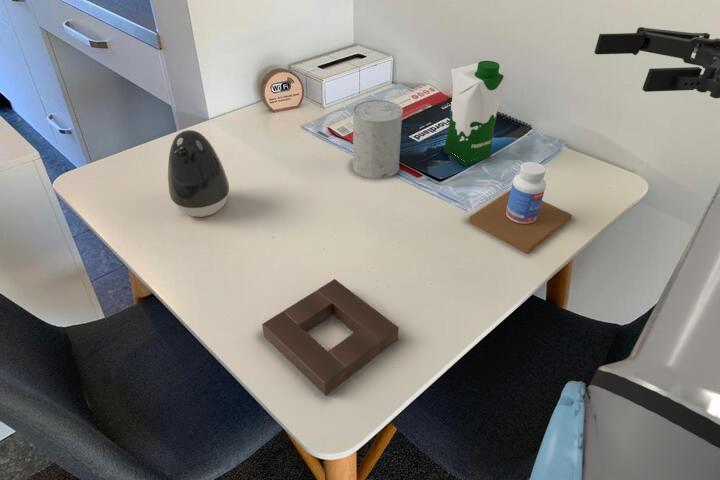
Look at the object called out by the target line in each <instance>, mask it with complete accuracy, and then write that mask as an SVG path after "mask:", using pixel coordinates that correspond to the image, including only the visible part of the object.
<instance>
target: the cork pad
mask: <svg viewBox="0 0 720 480" xmlns="http://www.w3.org/2000/svg"><path fill="white" fill-rule="evenodd" d="M510 191H511V189H510V190H508V191H506V192H505V193H504V194H502V195H500V196H499V197H498V198H496V199H495V200H493V201H491V202H490V203H489V204H487V205H486V206H484V207H482V208H480V209H479V210H478V211H477V212H475V213H473V214H472V215H471V216H469V218H468V222H469V223H470V224H472V225H473V226H476V227H478V228H479V229H482V230H483V231H485V232H487V233H489V234H491V235H492V236H494V237H496V238H497V239H500V240H501V241H504V242H505V243H506V244H509V245H511V246H513V247H514V248H517V249H518V250H520V251H521V252H524V253H526V254H529V253H530V252H532V251H533V250H534V249H535V248H537V247H538V246H539V245H541V243H543V242H544V241H545V240H546V239H548V238H549V237H551V236H552V235H553V234H554V233H556V232H557V231H558V230H559V229H561V228H562V227H563V226H564V225H566V224H567V223H568V222H569V221H571V219H572V217H573V214H572V213H570V212H568V211H565V210H563V209H561V208H558V207H557V206H555V205H552V204H550V203H549V202H546V201H544V200H542V202H541V205H540V209H539V212H538V216H537V218H536V220H535V221H534V222H532V223H529V224H520V223H516V222H514V221H512V220H510V219H509V218H508V217H507V215H506V208H507V204H508V200H509V196H510Z"/></svg>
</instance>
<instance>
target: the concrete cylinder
mask: <svg viewBox="0 0 720 480" xmlns="http://www.w3.org/2000/svg"><path fill="white" fill-rule="evenodd" d="M403 112H404V110H403V107H402V106H401V105H399V104H398V103H397V102H393V101H391V100H386V99H367V100H363V101H361V102H358V103H356V104H355V105H354V106H353V108H352V169H353V171H354V172H355V173H356V174H357V175H359V176H361V177H363V178H367V179H373V180H382V179H386V178H387V179H388V178H390V177H393V176H395V175H396V174H397V173H398V172H399V170H400V154H401V153H400V152H401V138H402V125H403V124H402V123H403Z"/></svg>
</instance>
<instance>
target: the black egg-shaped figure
mask: <svg viewBox="0 0 720 480" xmlns="http://www.w3.org/2000/svg"><path fill="white" fill-rule="evenodd" d="M168 155H169V156H168V163H167V186H168V193H169V197H170V199H171V201H172V202H173V203H174V204H175V206H176V207H177V208H178V209H179V210H180V211H181V212H182V213H184V214H186V215H189V216H190V217H191V216H192V217H197V218H201V217H208V216H211V215H213V214H216V213H217V212H219V211H220V210H221V209H222V208H223V207H224V206H225V205H226V204H225V203H227V200H228V196H229V193H230V181H229V179H228V176H227V173H226V170H225V168H224V165H223V163H222V161H221V159H220V157H219V155H218V153H217V151H216V150H215V148H214V147H213V145H212V143H210V141H209V140H208V139H207V138H206V137H205V136H204V135H203V134H202V133H201V132H199V131H197V130H193V129H187V130H182V131H180V132H179V133H177V134H176V136H175V137H174V138H173V140H172V143H171V146H170V149H169V154H168Z"/></svg>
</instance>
